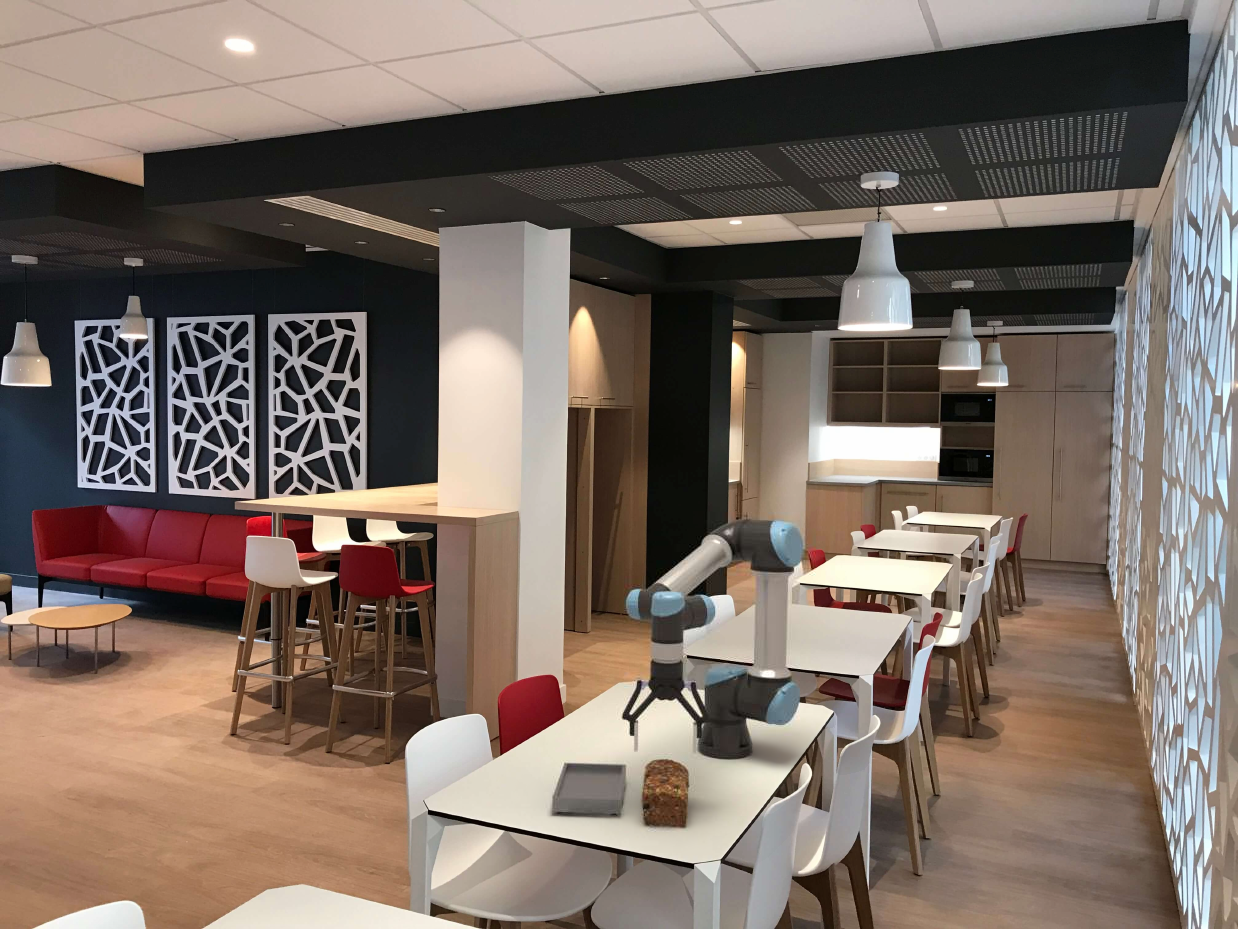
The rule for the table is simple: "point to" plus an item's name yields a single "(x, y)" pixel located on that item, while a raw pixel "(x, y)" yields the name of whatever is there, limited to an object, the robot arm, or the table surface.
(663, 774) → the bread
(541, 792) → the table surface
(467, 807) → the table surface
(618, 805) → the grey serving tray
